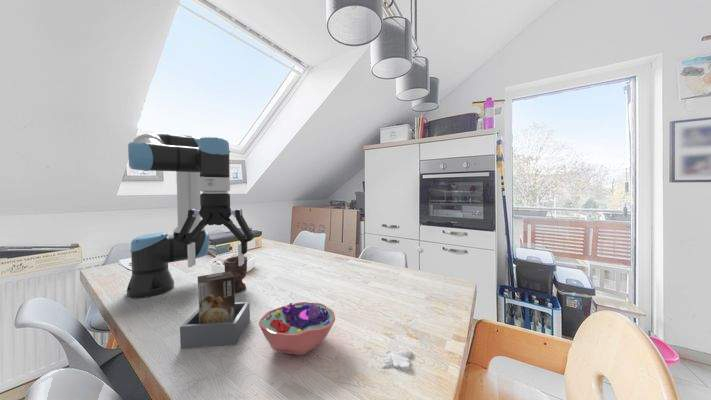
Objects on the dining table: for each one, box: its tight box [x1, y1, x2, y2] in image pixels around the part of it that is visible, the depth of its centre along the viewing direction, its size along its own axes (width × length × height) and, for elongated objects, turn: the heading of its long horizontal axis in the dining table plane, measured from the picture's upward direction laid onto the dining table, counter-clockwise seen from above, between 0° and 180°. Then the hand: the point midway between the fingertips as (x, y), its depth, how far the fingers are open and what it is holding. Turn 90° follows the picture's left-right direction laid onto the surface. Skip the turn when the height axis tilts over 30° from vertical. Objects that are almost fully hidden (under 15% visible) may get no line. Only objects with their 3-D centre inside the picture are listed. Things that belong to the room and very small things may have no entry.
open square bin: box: [179, 301, 251, 350], centre depth 74 cm, size 14×13×6 cm
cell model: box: [258, 301, 336, 356], centre depth 68 cm, size 17×20×11 cm
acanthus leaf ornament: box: [381, 349, 413, 371], centre depth 63 cm, size 8×7×2 cm
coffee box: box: [197, 271, 236, 324], centre depth 73 cm, size 9×6×16 cm
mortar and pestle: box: [223, 254, 248, 293], centre depth 104 cm, size 12×9×20 cm
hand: (216, 265), depth 73 cm, fingers open, 13 cm apart
